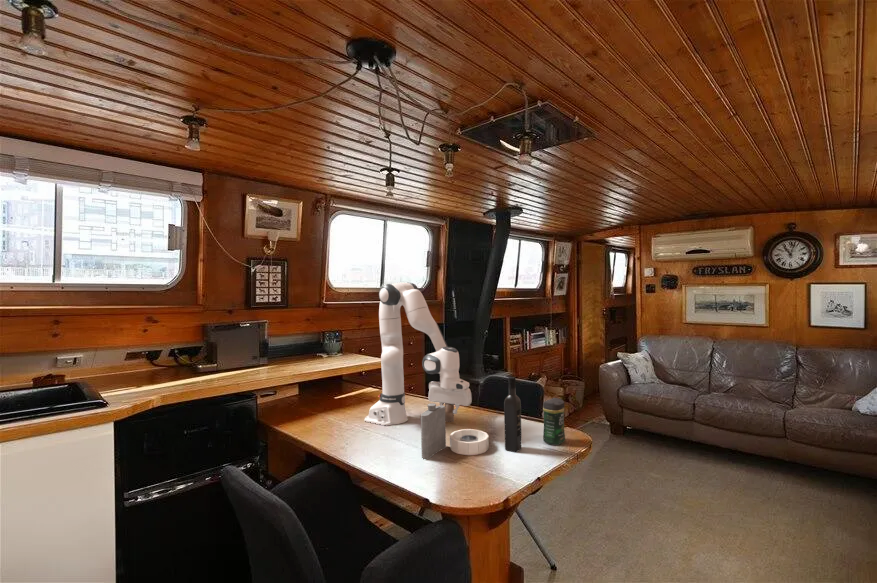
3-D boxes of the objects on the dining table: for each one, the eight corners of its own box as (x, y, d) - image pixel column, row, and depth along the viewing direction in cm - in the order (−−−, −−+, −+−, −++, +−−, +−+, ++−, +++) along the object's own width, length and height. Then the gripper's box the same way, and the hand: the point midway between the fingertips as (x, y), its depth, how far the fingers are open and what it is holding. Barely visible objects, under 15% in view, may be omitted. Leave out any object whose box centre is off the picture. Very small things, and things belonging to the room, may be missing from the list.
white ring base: (444, 451, 174) (444, 439, 174) (457, 438, 189) (457, 427, 189) (482, 457, 168) (481, 444, 168) (492, 442, 183) (492, 431, 182)
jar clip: (458, 447, 176) (458, 439, 176) (463, 440, 183) (463, 434, 183) (474, 449, 173) (474, 441, 173) (479, 443, 180) (479, 436, 180)
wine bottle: (522, 448, 176) (521, 377, 175) (516, 452, 171) (515, 379, 171) (510, 445, 179) (508, 375, 179) (504, 450, 174) (502, 378, 174)
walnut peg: (443, 421, 191) (443, 404, 191) (446, 419, 195) (447, 401, 195) (452, 422, 189) (452, 405, 189) (455, 420, 193) (455, 402, 193)
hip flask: (426, 460, 166) (425, 409, 166) (418, 458, 168) (417, 408, 168) (447, 446, 180) (446, 400, 179) (439, 445, 182) (438, 398, 181)
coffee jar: (557, 447, 176) (556, 403, 176) (540, 442, 182) (539, 400, 181) (568, 440, 183) (567, 398, 183) (551, 436, 189) (550, 395, 188)
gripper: (426, 382, 193) (425, 412, 193) (468, 386, 185) (468, 417, 185) (431, 379, 199) (431, 408, 199) (472, 383, 191) (472, 413, 191)
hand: (449, 412), depth 192 cm, fingers closed on walnut peg, 4 cm apart
